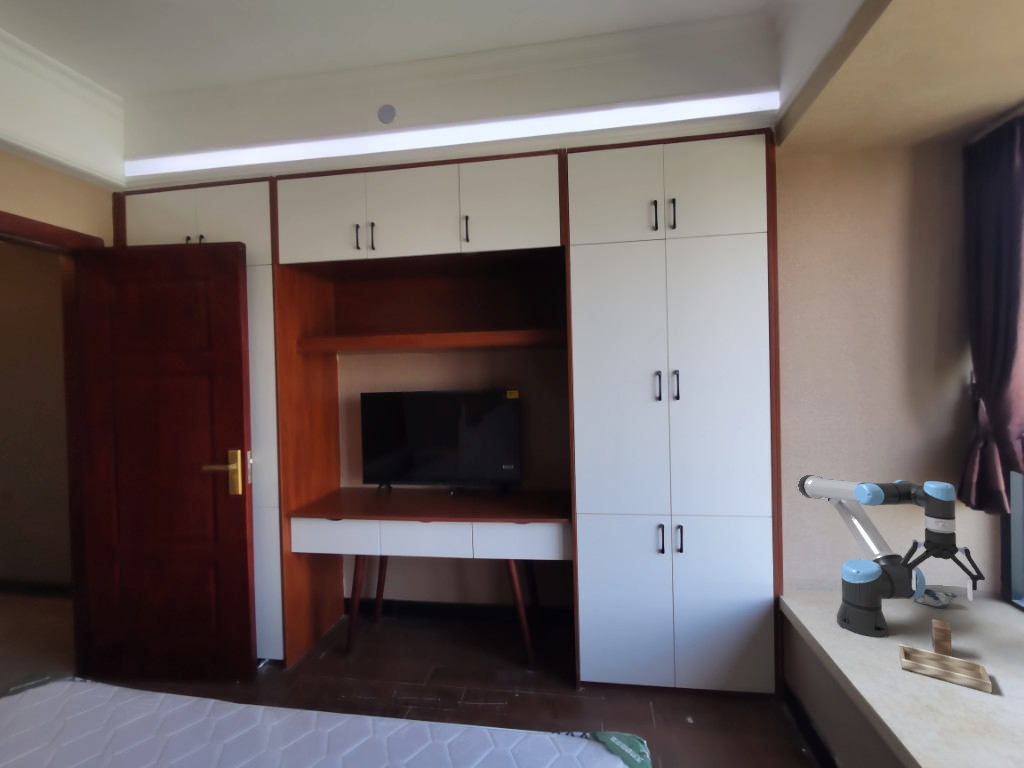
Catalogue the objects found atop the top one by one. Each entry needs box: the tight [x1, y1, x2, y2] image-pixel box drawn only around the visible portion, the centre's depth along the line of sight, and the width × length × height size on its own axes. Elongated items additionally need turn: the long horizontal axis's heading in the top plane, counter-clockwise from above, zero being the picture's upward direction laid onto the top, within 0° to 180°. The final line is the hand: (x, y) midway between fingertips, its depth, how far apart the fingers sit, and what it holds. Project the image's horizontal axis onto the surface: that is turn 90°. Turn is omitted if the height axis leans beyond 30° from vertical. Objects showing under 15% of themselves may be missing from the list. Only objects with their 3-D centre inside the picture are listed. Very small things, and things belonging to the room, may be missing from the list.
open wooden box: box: [898, 643, 993, 694], centre depth 141 cm, size 20×11×3 cm, turn 53°
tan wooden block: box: [931, 618, 953, 657], centre depth 152 cm, size 4×6×9 cm, turn 143°
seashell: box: [913, 588, 957, 609], centre depth 181 cm, size 6×8×12 cm
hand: (941, 593), depth 151 cm, fingers open, 13 cm apart
